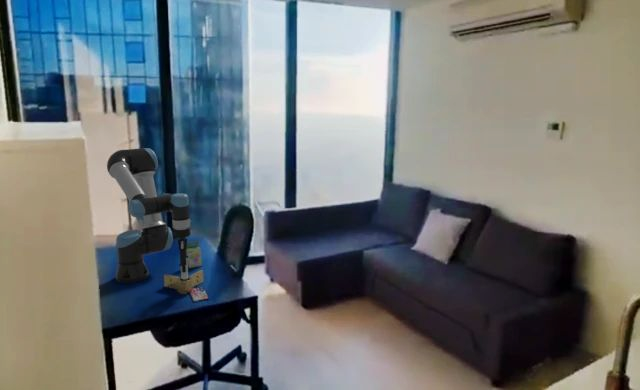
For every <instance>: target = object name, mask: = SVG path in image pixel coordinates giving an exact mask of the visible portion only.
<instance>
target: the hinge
mask: <svg viewBox="0 0 640 390" xmlns="http://www.w3.org/2000/svg"><path fill="white" fill-rule="evenodd" d="M163 281H164V287H165V288H168V287H169V288H170V289H173V288H174V289H173V290H177V293H178V292H179V293H178V294H180V295H188V294H189V292H192V291H193V289H194V287H197V286H199V285H200V284H201V283H203V282H204V269H200V270H197V271H196V272H194V273H192V274H189V275H188V280H187V281H182V279H181V276H176V275H173V274H172V275H171V274H166V273H165V274H163ZM196 285H197V286H196ZM187 293H188V294H187Z"/></svg>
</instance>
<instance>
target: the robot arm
mask: <svg viewBox="0 0 640 390" xmlns="http://www.w3.org/2000/svg"><path fill="white" fill-rule="evenodd" d="M106 162H107V164H106V169H107V172H108V174H109V175H110V176H111V178H113V179H115V180H116V182H117V184H118V185H119V187H120V189H121V190H122V192H123V193H124V195H125V197H126V198H127V200H128V201H129V202H128V205H127V206H128V211H129V214H130V216H131V217H134V218H135V217H136V218H137V217H142V218H143V224H144V225H143V227H142V231H141V230H139V229H130V230H126V231H123V232H121V233H119V234H118V235H117V237H115V238H116V243H115V247H116V254H117V269H116V273H115V281H116V282H118V283H121V284H133V283H138V282H141V281H143V280H147V278H148V277H149V270H148V267H147V266H146V263H145V262H144V256H146V255H151V254H154V253H160V252H164V251H167V250H170V249H171V247H172V244H173V239H174V238H175V239H177V245H178V251H179V258H180V259H179V263H180V264H178V267H180V275H181V276H180V277H181V279H184V278H188V276H189V275H188V276H187V263H186V260H187V258H188V256H187V253H186V250H187V242H188V239H187V238H188V237H190V236H191V222H192V220H191V219H190V201H189V196H188V194H187V193H183V192H181V193H180V192H179V193H164V194H162V195H160V196H158V194H157V187H156V183H155V178H154V175H155V174H156V170H157V169H158V167H159V161H158V157H157V155H156V153H155V151H154V150H153V149H151V148H149V147H147V148H145V147H141V148H140V147H139V148H128V149H119V150H117V151H115V152H113V153H112V154H111V155H110V156H109V158H108V160H107V161H106ZM168 212H170V213H171V217H172V220H171V221H172V228H173V229H171V227H169V226H167V223H166V222H164V221H163V218H162V213H168ZM173 237H174V238H173Z"/></svg>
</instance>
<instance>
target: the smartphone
mask: <svg viewBox="0 0 640 390" xmlns="http://www.w3.org/2000/svg"><path fill="white" fill-rule="evenodd" d="M188 294H189V296H190V298H192V299H191V301H192V303H197V302H196V301H199V302H203V301H202V300H205V301H209V300H211V298H210V296H209V294H208V292H207V289H206V288H205V286H204V285H202V286H201V285H200V286H195V287H194V289H193V291H192V292H189V293H188ZM208 299H209V300H208Z"/></svg>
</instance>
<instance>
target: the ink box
mask: <svg viewBox="0 0 640 390" xmlns="http://www.w3.org/2000/svg"><path fill="white" fill-rule="evenodd" d="M191 244H192V245H191ZM186 253H187V256H188V258H187V266H188V269H192V268H198V267H202V266H203V262H202V250H201V247H200V246H199V240H193V241H187V250H186Z"/></svg>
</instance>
